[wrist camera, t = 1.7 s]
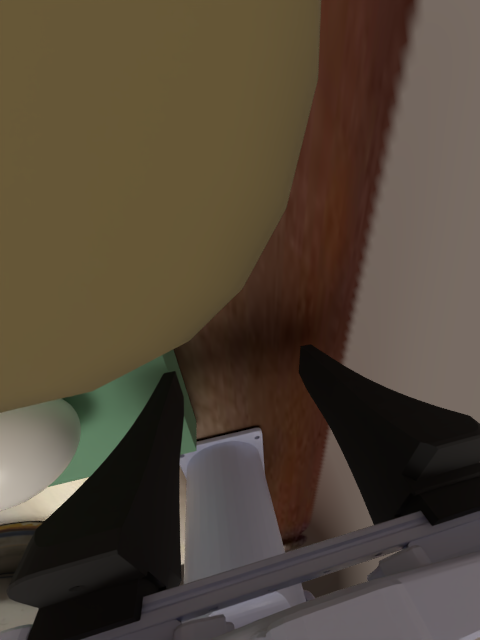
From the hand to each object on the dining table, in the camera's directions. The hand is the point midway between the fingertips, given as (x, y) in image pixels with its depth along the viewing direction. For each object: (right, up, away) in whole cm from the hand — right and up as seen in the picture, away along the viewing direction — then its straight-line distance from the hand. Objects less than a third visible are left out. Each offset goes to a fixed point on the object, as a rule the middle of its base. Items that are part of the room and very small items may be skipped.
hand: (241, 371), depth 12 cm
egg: (-10, -3, -3) cm, 11 cm away
